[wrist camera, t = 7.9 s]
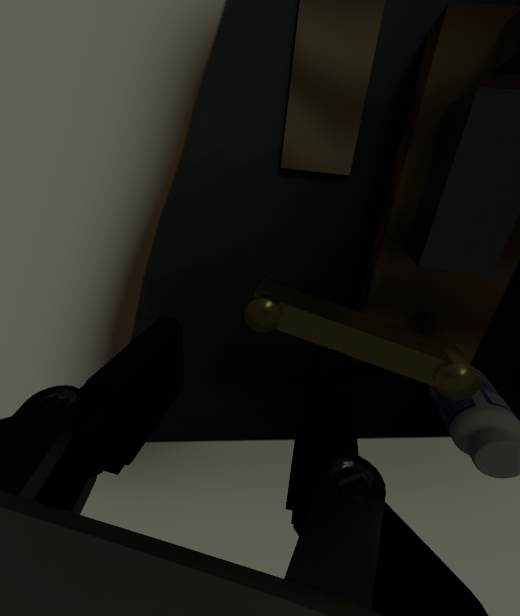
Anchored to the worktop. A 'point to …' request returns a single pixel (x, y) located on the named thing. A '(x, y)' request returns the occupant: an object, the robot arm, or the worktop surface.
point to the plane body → (414, 169)
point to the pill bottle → (483, 429)
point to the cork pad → (329, 82)
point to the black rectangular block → (470, 186)
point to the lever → (367, 337)
